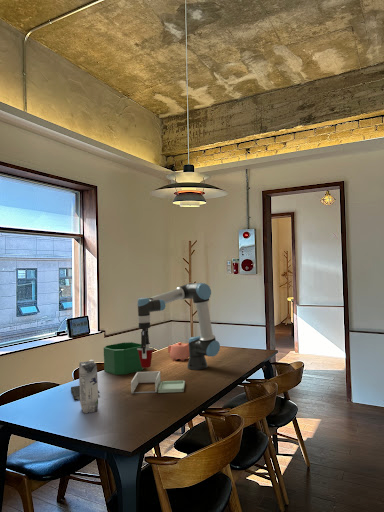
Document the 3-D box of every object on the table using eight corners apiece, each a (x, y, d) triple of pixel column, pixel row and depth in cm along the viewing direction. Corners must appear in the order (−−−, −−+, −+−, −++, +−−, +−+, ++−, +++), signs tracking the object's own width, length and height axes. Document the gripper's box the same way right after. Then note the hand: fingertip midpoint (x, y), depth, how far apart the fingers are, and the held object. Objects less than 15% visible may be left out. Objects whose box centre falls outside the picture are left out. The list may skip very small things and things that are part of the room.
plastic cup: (157, 365, 257) (157, 346, 257) (148, 369, 247) (147, 350, 247) (143, 364, 262) (143, 345, 262) (134, 368, 252) (133, 349, 252)
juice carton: (82, 414, 210) (80, 363, 211) (79, 408, 220) (78, 359, 221) (99, 411, 214) (97, 361, 214) (95, 405, 223) (94, 357, 224)
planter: (118, 376, 285) (117, 350, 286) (101, 370, 305) (100, 346, 305) (148, 369, 302) (147, 345, 303) (129, 363, 322) (129, 341, 322)
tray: (161, 384, 259) (160, 381, 260) (184, 383, 259) (184, 380, 259) (158, 392, 242) (157, 389, 242) (183, 391, 241) (183, 388, 242)
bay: (137, 382, 266) (137, 372, 266) (160, 381, 265) (160, 371, 266) (131, 393, 243) (130, 382, 243) (156, 392, 242) (156, 381, 243)
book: (70, 391, 254) (70, 386, 254) (94, 388, 260) (94, 383, 260) (74, 401, 234) (74, 396, 234) (99, 397, 240) (99, 392, 240)
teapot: (196, 358, 331) (195, 341, 331) (191, 361, 319) (190, 344, 319) (171, 357, 338) (170, 340, 338) (165, 361, 326) (165, 343, 326)
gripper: (141, 319, 267) (142, 352, 266) (135, 324, 244) (136, 360, 243) (152, 319, 267) (153, 352, 266) (147, 324, 243) (149, 360, 243)
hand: (145, 356), depth 255 cm, fingers closed on plastic cup, 11 cm apart
